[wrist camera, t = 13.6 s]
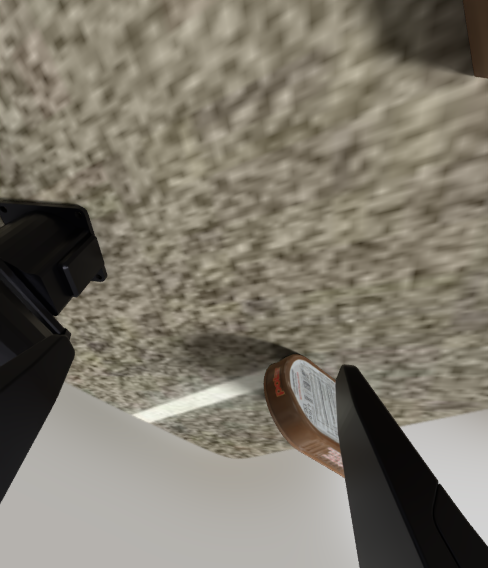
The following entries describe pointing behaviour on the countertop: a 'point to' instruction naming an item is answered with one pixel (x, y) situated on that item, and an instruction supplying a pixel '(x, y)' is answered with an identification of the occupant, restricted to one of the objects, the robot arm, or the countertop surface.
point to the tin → (305, 409)
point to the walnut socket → (478, 34)
